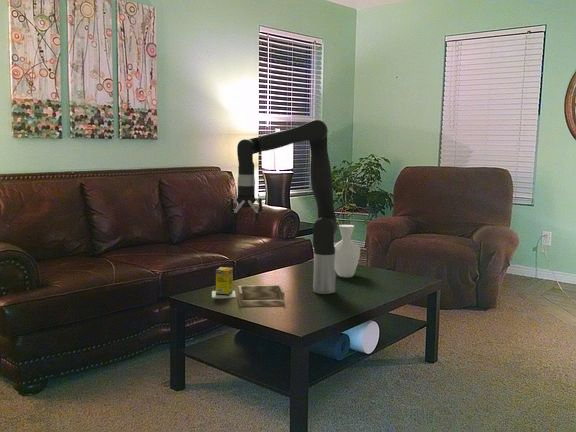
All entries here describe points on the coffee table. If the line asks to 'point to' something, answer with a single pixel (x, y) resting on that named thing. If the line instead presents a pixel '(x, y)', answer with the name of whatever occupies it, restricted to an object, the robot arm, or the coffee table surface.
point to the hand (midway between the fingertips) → (245, 221)
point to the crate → (261, 295)
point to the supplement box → (224, 281)
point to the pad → (223, 295)
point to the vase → (346, 253)
